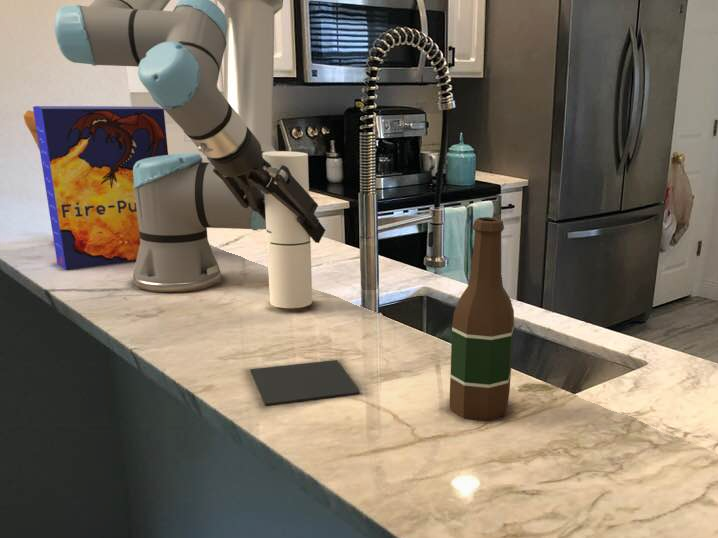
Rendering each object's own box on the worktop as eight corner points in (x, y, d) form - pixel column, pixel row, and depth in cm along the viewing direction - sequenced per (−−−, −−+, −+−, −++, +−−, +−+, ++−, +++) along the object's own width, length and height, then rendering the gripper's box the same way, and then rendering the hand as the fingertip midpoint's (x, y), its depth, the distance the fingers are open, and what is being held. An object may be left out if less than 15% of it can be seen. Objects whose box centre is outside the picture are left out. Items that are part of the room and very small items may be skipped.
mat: (250, 371, 104) (250, 369, 104) (336, 361, 109) (336, 360, 109) (265, 405, 94) (265, 403, 94) (359, 393, 99) (359, 391, 99)
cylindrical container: (300, 294, 137) (295, 150, 128) (319, 304, 132) (315, 155, 123) (263, 299, 132) (254, 151, 123) (281, 310, 127) (274, 157, 118)
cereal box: (66, 270, 147) (41, 107, 136) (57, 263, 151) (32, 104, 141) (178, 256, 161) (163, 107, 150) (167, 250, 165) (152, 105, 154)
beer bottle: (520, 405, 98) (534, 219, 89) (490, 427, 91) (501, 228, 83) (468, 391, 101) (477, 210, 93) (436, 411, 95) (442, 219, 86)
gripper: (164, 154, 114) (247, 242, 134) (267, 168, 106) (340, 259, 125) (188, 116, 117) (266, 208, 136) (291, 126, 108) (359, 223, 128)
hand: (301, 233), depth 131 cm, fingers closed on cylindrical container, 7 cm apart
